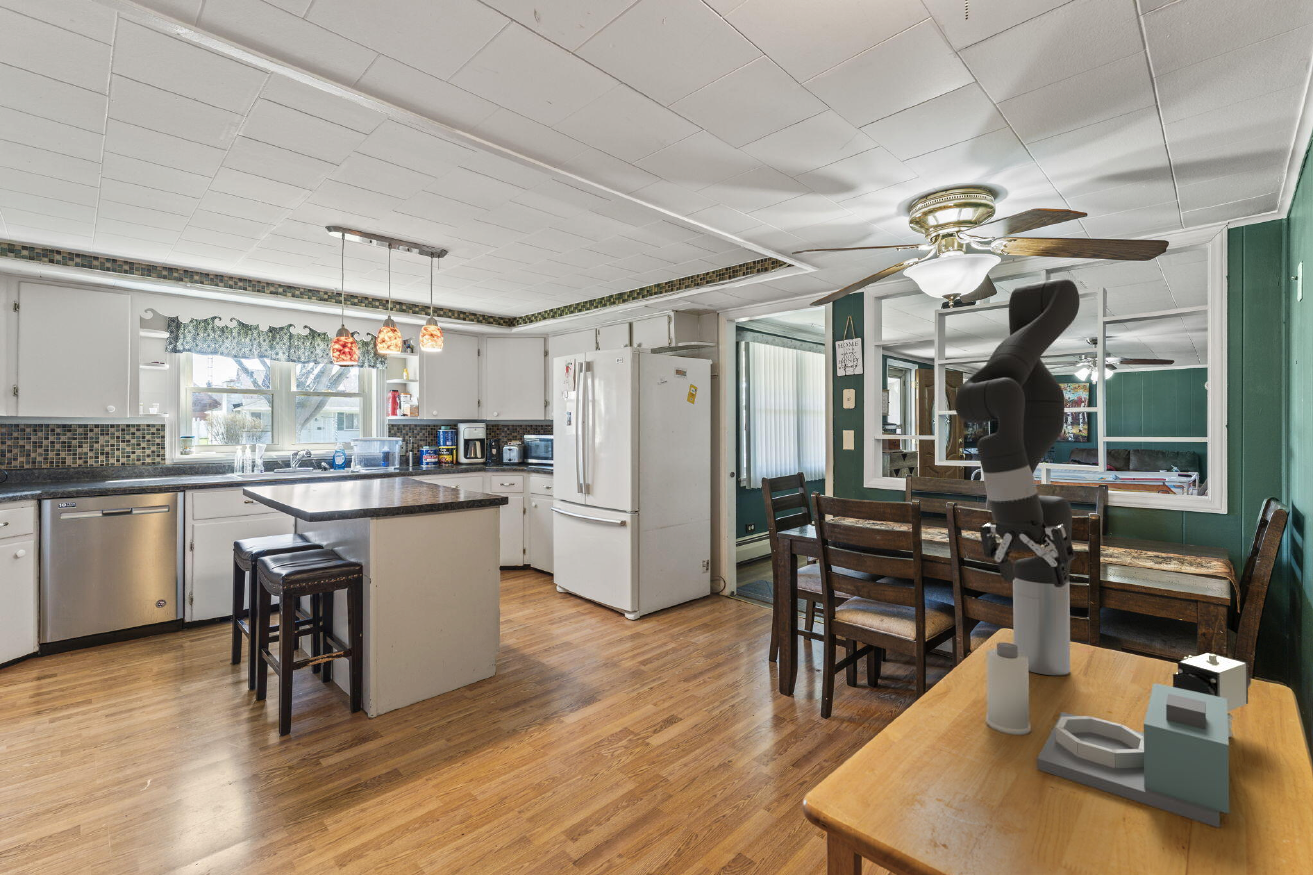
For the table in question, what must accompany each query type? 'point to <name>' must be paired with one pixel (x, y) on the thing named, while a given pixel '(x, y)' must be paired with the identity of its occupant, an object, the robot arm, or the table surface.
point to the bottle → (1008, 690)
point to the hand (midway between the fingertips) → (1034, 583)
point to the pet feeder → (1151, 754)
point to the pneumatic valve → (1215, 679)
